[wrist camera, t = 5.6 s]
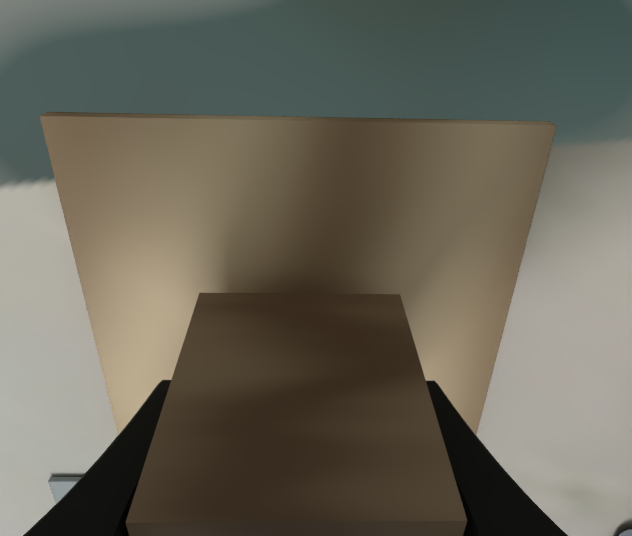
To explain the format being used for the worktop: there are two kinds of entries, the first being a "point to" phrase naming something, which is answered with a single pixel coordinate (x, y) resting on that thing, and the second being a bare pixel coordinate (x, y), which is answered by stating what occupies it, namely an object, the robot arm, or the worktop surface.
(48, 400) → the worktop surface
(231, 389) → the walnut block
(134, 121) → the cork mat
